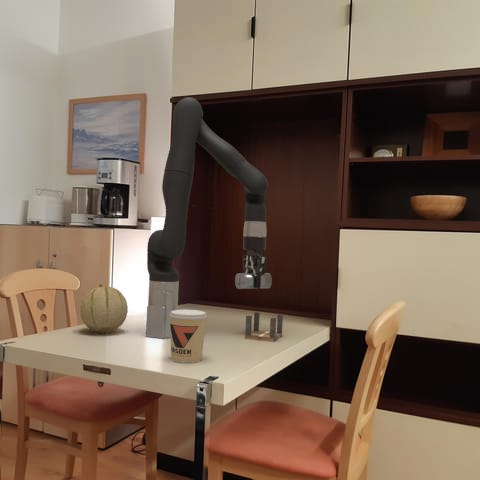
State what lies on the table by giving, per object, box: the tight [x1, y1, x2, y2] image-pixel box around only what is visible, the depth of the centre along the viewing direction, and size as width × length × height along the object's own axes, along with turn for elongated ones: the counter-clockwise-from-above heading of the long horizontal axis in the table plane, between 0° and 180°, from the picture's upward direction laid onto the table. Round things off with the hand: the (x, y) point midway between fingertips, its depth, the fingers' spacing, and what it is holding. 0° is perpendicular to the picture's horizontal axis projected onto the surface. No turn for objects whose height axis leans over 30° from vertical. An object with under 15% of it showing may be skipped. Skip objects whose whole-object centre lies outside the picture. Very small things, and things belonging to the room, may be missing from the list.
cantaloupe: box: [79, 283, 129, 334], centre depth 154 cm, size 15×15×15 cm
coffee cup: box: [170, 309, 208, 364], centre depth 124 cm, size 9×9×12 cm
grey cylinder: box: [234, 272, 273, 290], centre depth 160 cm, size 11×5×5 cm, turn 114°
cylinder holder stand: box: [244, 312, 284, 343], centre depth 157 cm, size 10×9×7 cm
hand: (253, 287), depth 160 cm, fingers closed on grey cylinder, 5 cm apart
